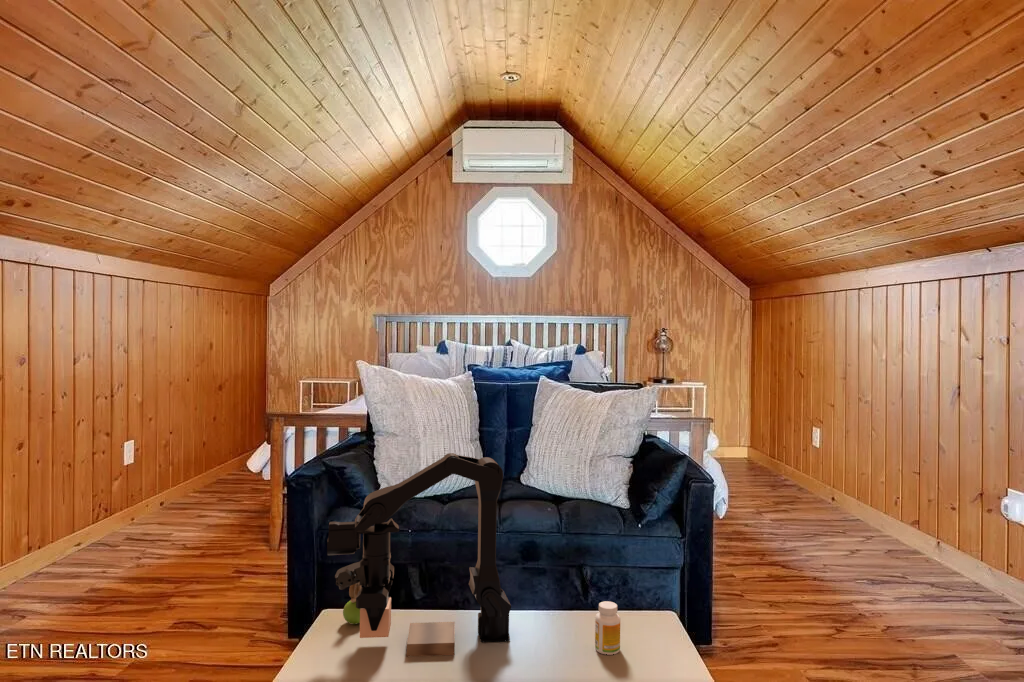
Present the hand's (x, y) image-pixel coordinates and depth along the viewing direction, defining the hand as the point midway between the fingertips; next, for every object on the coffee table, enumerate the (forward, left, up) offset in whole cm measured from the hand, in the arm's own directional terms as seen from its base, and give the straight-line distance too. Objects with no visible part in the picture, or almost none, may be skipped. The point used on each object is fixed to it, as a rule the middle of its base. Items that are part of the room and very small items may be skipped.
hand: (375, 623), depth 139 cm
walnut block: (-12, 0, -5) cm, 13 cm away
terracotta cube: (0, 0, -2) cm, 2 cm away
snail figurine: (+6, -12, -5) cm, 14 cm away
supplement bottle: (-50, +5, -5) cm, 51 cm away
